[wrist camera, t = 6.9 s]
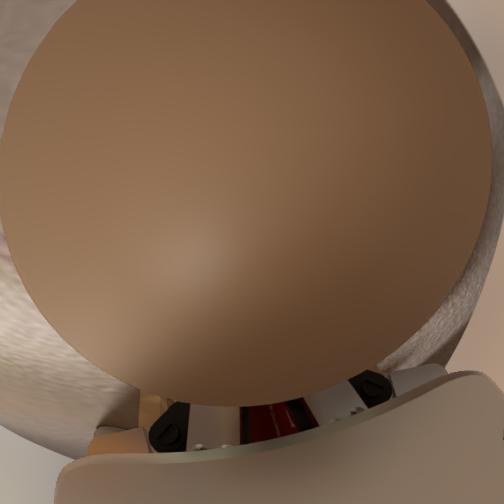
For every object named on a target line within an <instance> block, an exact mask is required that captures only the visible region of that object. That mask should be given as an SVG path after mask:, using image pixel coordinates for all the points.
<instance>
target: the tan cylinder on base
mask: <svg viewBox="0 0 504 504" xmlns="http://www.w3.org/2000/svg"><path fill="white" fill-rule="evenodd" d="M491 176H492V143H491V131H490V125H489V119H488V114H487V109H486V105H485V101H484V98H483V94H482V91H481V88H480V85H479V82H478V80H477V77H476V74H475V72H474V70H473V68H472V66H471V64H470V61H469V59H468V57H467V55H466V53H465V52H464V50H463V48H462V46H461V45H460V43H459V41H458V40H457V38H456V37H455V35H454V34H453V32H452V31H451V30H450V28H449V27H448V25H447V24H446V23H445V21H444V20H443V19H442V18H441V17H440V15H439V14H438V13H437V12H436V11H435V10H434V9H433V8H432V6H431V5H430V4H429V3H428V2H427V1H426V0H78V1H76V2H75V3H74V4H73V5H72V6H71V7H70V8H69V9H68V10H67V11H66V12H65V13H64V14H63V15H62V17H61V18H60V19H59V20H58V21H57V22H56V23H55V25H54V26H53V27H52V28H51V30H50V31H49V33H48V34H47V35H46V37H45V38H44V39H43V41H42V42H41V44H40V45H39V47H38V48H37V50H36V51H35V53H34V54H33V56H32V57H31V59H30V61H29V63H28V65H27V67H26V69H25V71H24V73H23V75H22V77H21V79H20V81H19V84H18V86H17V88H16V91H15V93H14V96H13V98H12V101H11V103H10V107H9V110H8V114H7V118H6V122H5V126H4V130H3V135H2V140H1V145H0V212H1V220H2V226H3V230H4V234H5V237H6V241H7V245H8V248H9V251H10V255H11V258H12V260H13V263H14V265H15V267H16V270H17V272H18V274H19V276H20V278H21V281H22V283H23V285H24V287H25V289H26V291H27V292H28V294H29V295H30V297H31V299H32V300H33V302H34V303H35V305H36V306H37V308H38V309H39V311H40V312H41V314H42V315H43V317H44V318H45V319H46V320H47V321H48V323H49V324H50V325H51V326H52V327H53V328H54V330H55V331H56V332H57V333H58V334H59V335H60V336H61V337H62V338H63V339H64V340H65V341H66V342H67V343H68V344H69V345H70V346H71V347H72V348H74V349H75V350H76V351H77V352H78V353H79V354H80V355H82V356H83V357H84V358H85V359H87V360H88V361H90V362H91V363H92V364H94V365H95V366H97V367H98V368H100V369H101V370H103V371H104V372H106V373H107V374H109V375H111V376H113V377H115V378H117V379H119V380H121V381H122V382H124V383H126V384H128V385H130V386H133V387H135V388H138V389H140V390H143V391H146V392H148V393H151V394H154V395H157V396H160V397H164V398H168V399H171V400H174V401H175V402H176V401H179V402H185V403H191V404H198V405H205V406H220V407H243V406H257V405H266V404H273V403H279V402H284V401H288V400H293V399H297V398H301V397H304V396H307V395H311V394H314V393H317V392H320V391H323V390H325V389H328V388H330V387H333V386H335V385H337V384H340V383H342V382H344V381H346V380H348V379H350V378H352V377H354V376H356V375H358V374H360V373H362V372H364V371H365V370H367V369H369V368H370V367H372V366H373V365H375V364H377V363H378V362H380V361H381V360H383V359H384V358H385V357H387V356H388V355H390V354H391V353H392V352H394V351H395V350H396V349H397V348H399V347H400V346H401V345H402V344H404V343H405V342H406V341H407V340H408V339H409V338H410V337H411V336H413V335H414V334H415V333H416V332H417V331H418V330H419V329H420V328H421V327H422V326H423V325H424V324H425V323H426V322H427V320H428V319H429V318H430V317H431V316H432V315H433V314H434V313H435V311H436V310H437V309H438V308H439V306H440V305H441V304H442V303H443V301H444V300H445V299H446V297H447V296H448V295H449V293H450V292H451V290H452V288H453V287H454V285H455V284H456V282H457V281H458V279H459V277H460V276H461V274H462V272H463V270H464V268H465V266H466V264H467V262H468V260H469V258H470V256H471V254H472V252H473V250H474V247H475V245H476V242H477V239H478V237H479V234H480V231H481V228H482V224H483V221H484V217H485V214H486V210H487V205H488V199H489V193H490V187H491Z"/></svg>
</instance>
